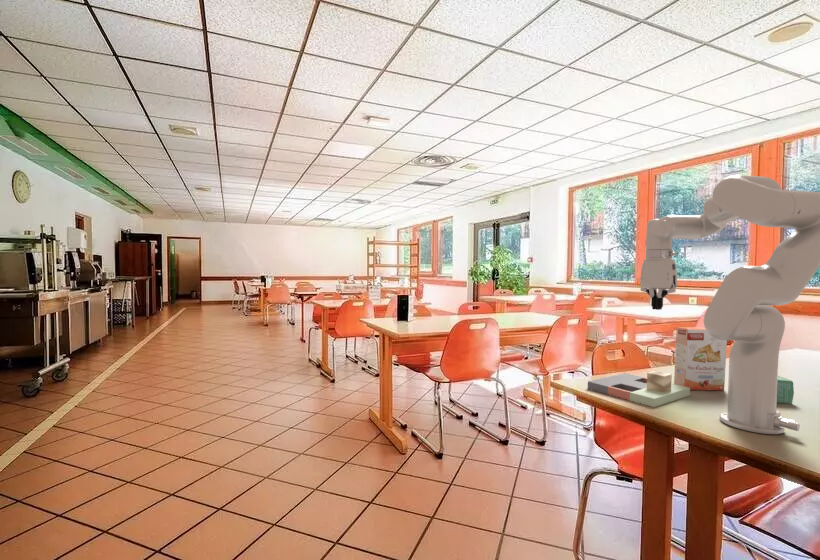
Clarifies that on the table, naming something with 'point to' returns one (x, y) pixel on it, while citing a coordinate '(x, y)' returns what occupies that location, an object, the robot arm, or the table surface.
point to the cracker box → (699, 359)
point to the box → (784, 390)
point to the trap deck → (637, 389)
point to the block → (659, 381)
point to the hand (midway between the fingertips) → (656, 309)
